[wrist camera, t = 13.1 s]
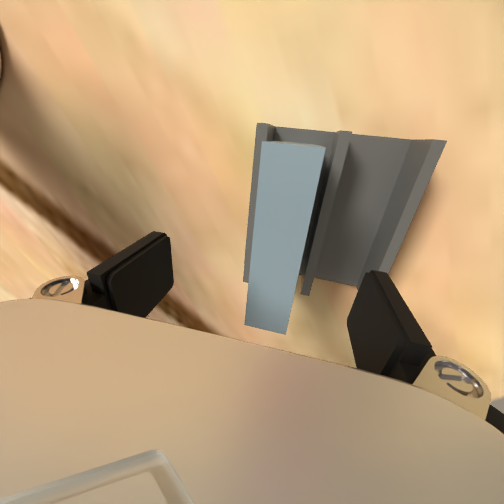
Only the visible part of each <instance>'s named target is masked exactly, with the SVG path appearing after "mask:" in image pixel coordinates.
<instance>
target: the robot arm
mask: <svg viewBox="0 0 504 504" xmlns="http://www.w3.org/2000/svg"><path fill="white" fill-rule="evenodd" d="M1 69H2V67H1V52H0V77H1ZM87 275H88V280H86V281H85V282H84V279H82V278H81V277H78V276H64V277H59V278H55V279H53V280H50V281H48V282H46V283H44V284H42V285H41V286H39V287H38V288H37V290H36V291H35V293H34V295H33V297H32V298H30V299H20V300H11V301H4V302H0V504H504V414H503V413H501V412H500V411H498V410H497V409H496V408H494V407H493V406H492V405H490V401H491V393H490V391H489V389H488V387H487V385H486V384H485V383H484V382H483V380H482V379H481V378H480V377H479V376H478V375H477V374H476V373H474V372H473V371H472V370H471V369H469V368H468V367H466V366H465V365H463V364H461V363H459V362H457V361H455V360H453V359H450V358H447V357H443V356H436V355H435V353H434V351H433V350H432V348H431V347H432V346H431V344H430V342H429V341H428V339H427V337H426V336H425V334H424V332H423V331H422V329H421V328H420V326H419V324H418V323H417V321H416V319H415V318H414V316H413V314H412V313H411V311H410V310H409V308H408V306H407V305H406V303H405V301H404V300H403V298H402V297H401V295H400V293H399V292H398V290H397V288H396V287H395V285H394V283H393V282H392V280H391V279H390V277H389V275H388V274H387V273H386V272H381V271H376V270H371V271H370V272H369V273H368V272H366V273H365V275H364V277H363V280H362V282H361V285H360V287H359V290H358V293H357V295H356V298H355V300H354V303H353V305H352V308H351V311H350V313H349V316H348V319H347V327H348V332H349V336H350V340H351V345H352V349H353V353H354V358H355V362H356V367H357V368H353V367H349V366H345V365H341V364H336V363H332V362H328V361H324V360H320V359H316V358H312V357H308V356H303V355H299V354H295V353H291V352H287V351H283V350H279V349H274V348H270V347H266V346H262V345H258V344H253V343H249V342H245V341H241V340H237V339H232V338H228V337H224V336H220V335H216V334H211V333H207V332H203V331H199V330H194V329H190V328H186V327H182V326H177V325H173V324H169V323H165V322H161V321H156V320H152V319H148V318H145V317H146V316H147V315H148V314H149V313H150V312H151V311H152V310H153V308H154V307H155V306H156V305H157V304H158V303H159V302H160V301H161V299H162V298H163V297H164V296H165V295H166V294H167V293H168V291H169V290H170V289H171V288H172V286H173V283H174V279H173V268H172V256H171V245H170V238H169V237H167V235H166V234H165V233H161V232H155V231H153V232H151V233H150V234H148V235H146V236H145V237H143V238H142V239H140V240H138V241H137V242H135V243H133V244H132V245H130V246H129V247H127V248H125V249H124V250H122V251H120V252H119V253H117V254H116V255H114V256H112V257H111V258H109V259H107V260H106V261H104V262H103V263H101V264H99V265H98V266H96V267H94V268H93V269H91V270H90V271H88V272H87Z"/></svg>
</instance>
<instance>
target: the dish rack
mask: <svg viewBox="0 0 504 504" xmlns="http://www.w3.org/2000/svg"><path fill="white" fill-rule="evenodd" d="M262 141H286V142H296V143H307V144H317V145H321V146H323V147H326V149H325V154H324V158H323V163H322V168H321V172H320V177H319V182H318V186H317V191H316V196H315V200H314V205H313V210H312V214H311V219H310V224H309V228H308V233H307V238H306V242H305V247H304V252H303V256H302V261H301V266H300V270H299V275H302V281H301V294H303V295H308V296H309V294H310V290H311V286H312V283H313V279H314V278H318V279H323V280H328V281H333V282H338V283H343V284H348V285H353V286H357V289H358V290H359V287H360V285H361V282H362V280H363V277H364V275H365V273H366V272H368V273H369V272H370V271H371V270H376V271H381V272H386V273H387V274H388V273H389V271H390V269H391V267H392V264H393V262H394V260H395V257H396V255H397V253H398V251H399V248H400V246H401V244H402V242H403V239H404V237H405V235H406V233H407V230H408V228H409V226H410V224H411V221H412V219H413V217H414V215H415V212H416V210H417V208H418V205H419V203H420V201H421V199H422V196H423V194H424V192H425V190H426V187H427V185H428V183H429V181H430V178H431V176H432V174H433V172H434V169H435V167H436V165H437V162H438V160H439V158H440V156H441V153H442V151H443V149H444V147H445V144H446V142H447V141H444V140H409V139H398V138H388V137H378V136H367V135H357V134H352V132H349V131H337V132H326V131H316V130H305V129H295V128H285V127H275V126H272V125H270V124H266V123H257V127H256V138H255V150H254V161H253V172H252V183H251V194H250V205H249V217H248V228H247V239H246V250H245V261H244V264H245V265H244V276H243V282H247V283H249V273H250V262H251V251H252V241H253V230H254V220H255V209H256V199H257V188H258V178H259V167H260V157H261V146H262Z"/></svg>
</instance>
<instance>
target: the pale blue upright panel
mask: <svg viewBox="0 0 504 504" xmlns="http://www.w3.org/2000/svg"><path fill="white" fill-rule="evenodd" d="M325 149H326V147H323V146H321V145H317V144H307V143H296V142H286V141H262V146H261V157H260V167H259V178H258V188H257V199H256V209H255V220H254V230H253V241H252V251H251V262H250V273H249V283H248V294H247V304H246V315H245V325H247V326H251V327H256V328H260V329H264V330H268V331H272V332H276V333H281V334H285V335H286V331H287V326H288V322H289V317H290V312H291V308H292V303H293V298H294V294H295V289H296V284H297V280H298V275H299V270H300V266H301V261H302V256H303V252H304V247H305V242H306V238H307V233H308V228H309V224H310V219H311V214H312V210H313V205H314V200H315V196H316V191H317V186H318V182H319V177H320V172H321V168H322V163H323V158H324V154H325Z"/></svg>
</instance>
